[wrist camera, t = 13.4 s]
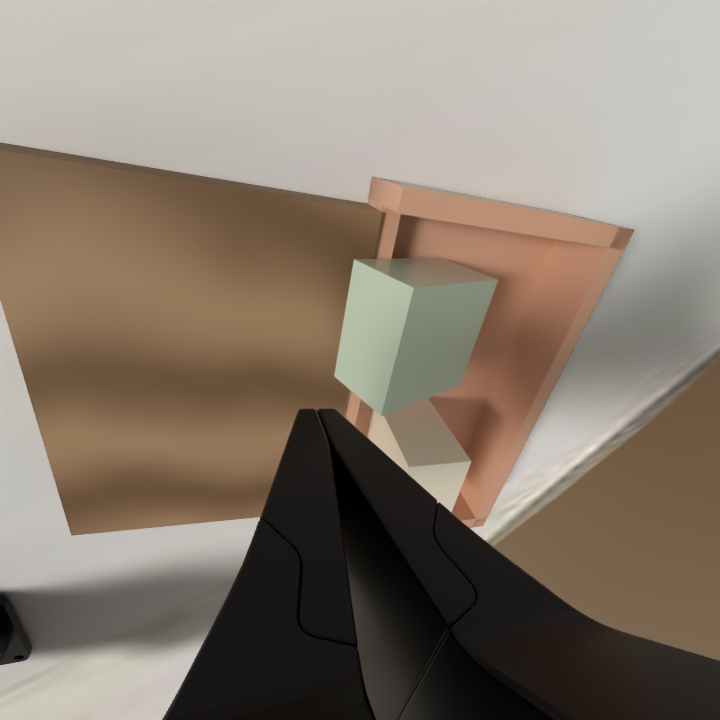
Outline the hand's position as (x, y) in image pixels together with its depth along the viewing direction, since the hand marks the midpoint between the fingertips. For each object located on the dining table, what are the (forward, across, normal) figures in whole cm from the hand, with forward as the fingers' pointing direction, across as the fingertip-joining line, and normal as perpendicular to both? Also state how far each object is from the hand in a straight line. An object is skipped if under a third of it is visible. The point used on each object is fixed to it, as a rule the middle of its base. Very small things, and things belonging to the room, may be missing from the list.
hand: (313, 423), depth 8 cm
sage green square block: (+7, -4, 0) cm, 9 cm away
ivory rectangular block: (+6, -5, +8) cm, 11 cm away
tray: (+9, -8, +4) cm, 13 cm away
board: (+9, +3, +4) cm, 10 cm away
